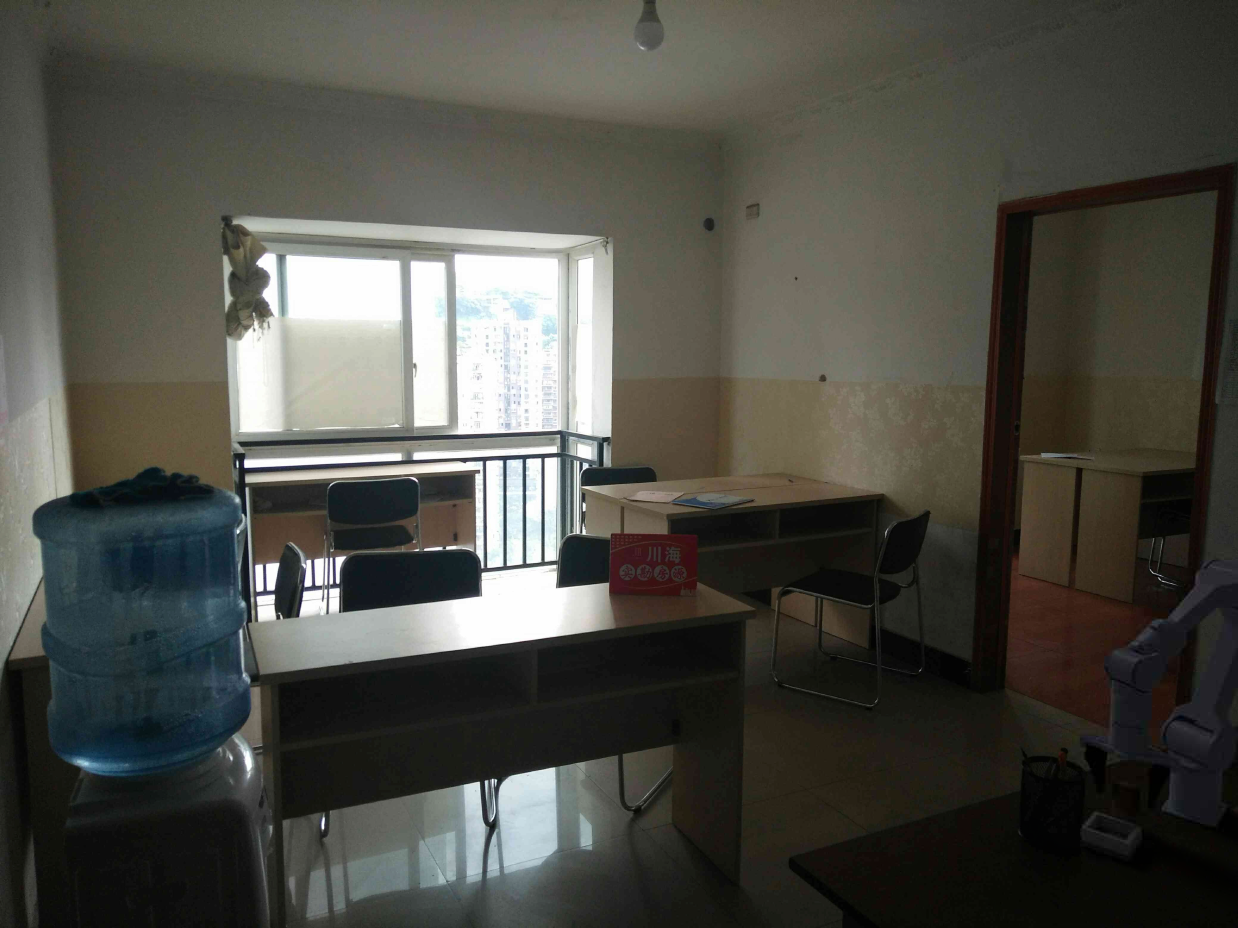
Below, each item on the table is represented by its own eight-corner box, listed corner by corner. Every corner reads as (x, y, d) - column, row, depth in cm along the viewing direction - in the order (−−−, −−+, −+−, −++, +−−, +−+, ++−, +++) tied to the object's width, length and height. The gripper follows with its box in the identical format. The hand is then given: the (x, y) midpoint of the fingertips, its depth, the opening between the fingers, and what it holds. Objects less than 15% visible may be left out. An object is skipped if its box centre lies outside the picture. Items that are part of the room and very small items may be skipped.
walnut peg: (1115, 817, 148) (1117, 778, 147) (1141, 826, 145) (1143, 786, 144) (1107, 826, 145) (1109, 787, 144) (1134, 835, 142) (1136, 795, 142)
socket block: (1094, 827, 145) (1094, 811, 145) (1141, 843, 140) (1142, 826, 140) (1080, 844, 140) (1080, 827, 140) (1128, 861, 135) (1129, 843, 135)
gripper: (1074, 716, 145) (1071, 792, 147) (1174, 742, 135) (1169, 823, 137) (1088, 704, 150) (1084, 778, 152) (1185, 728, 140) (1180, 807, 142)
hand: (1125, 798), depth 145 cm, fingers open, 7 cm apart
